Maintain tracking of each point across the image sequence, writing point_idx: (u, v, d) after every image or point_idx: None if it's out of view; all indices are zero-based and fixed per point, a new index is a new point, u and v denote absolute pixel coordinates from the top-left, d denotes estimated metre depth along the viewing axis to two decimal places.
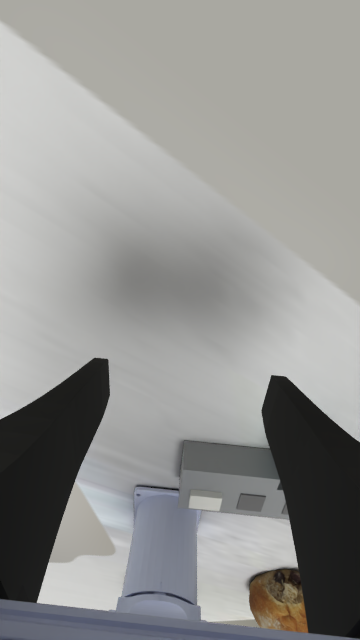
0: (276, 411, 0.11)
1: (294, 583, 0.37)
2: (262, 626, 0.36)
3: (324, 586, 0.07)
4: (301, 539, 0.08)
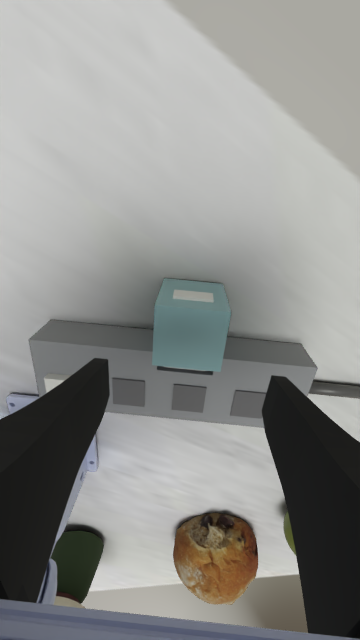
0: (276, 411, 0.11)
1: (222, 527, 0.30)
2: (182, 578, 0.29)
3: (324, 586, 0.07)
4: (301, 539, 0.08)
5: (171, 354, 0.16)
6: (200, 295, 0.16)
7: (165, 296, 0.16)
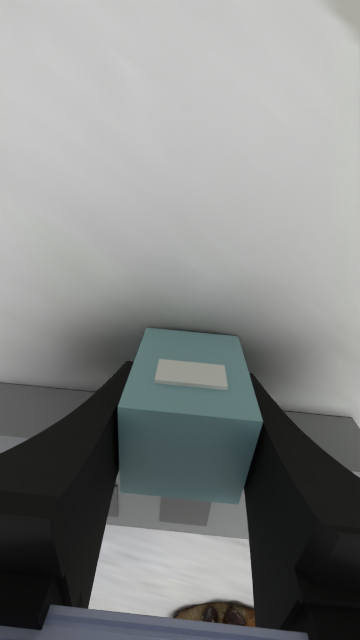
0: None
1: None
2: None
3: (267, 580, 0.07)
4: (253, 534, 0.08)
5: (152, 479, 0.09)
6: (203, 373, 0.09)
7: (140, 377, 0.09)
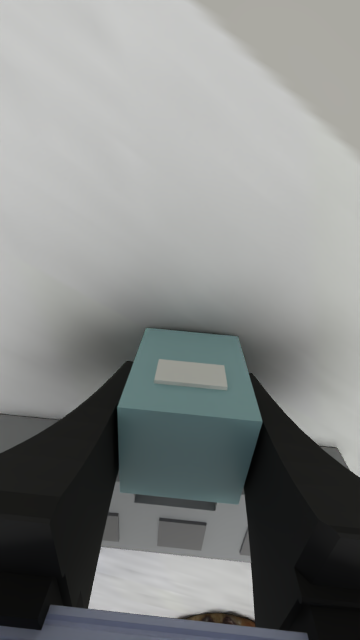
0: None
1: None
2: None
3: (267, 580, 0.07)
4: (253, 534, 0.08)
5: (152, 479, 0.09)
6: (202, 373, 0.09)
7: (141, 377, 0.09)
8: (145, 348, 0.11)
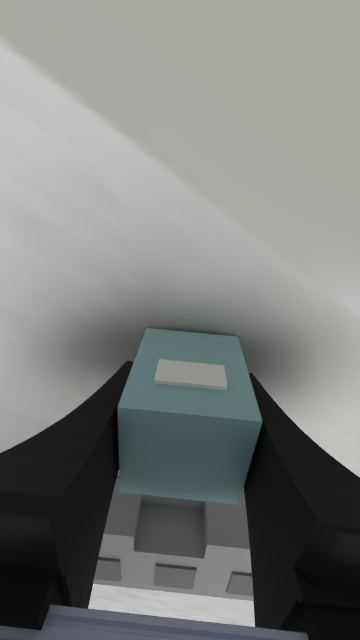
0: None
1: None
2: None
3: (267, 580, 0.07)
4: (253, 534, 0.08)
5: (152, 479, 0.09)
6: (202, 373, 0.09)
7: (141, 377, 0.09)
8: (145, 348, 0.11)
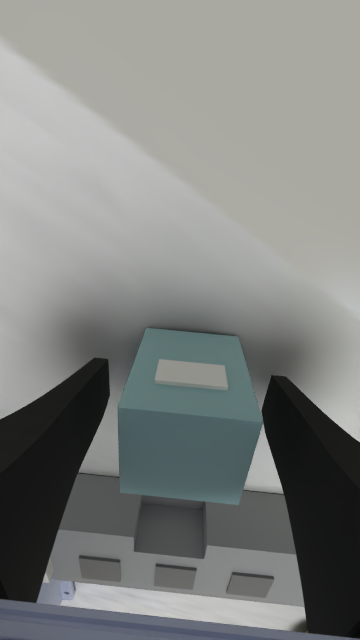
0: (276, 411, 0.11)
1: None
2: None
3: (324, 586, 0.07)
4: (301, 539, 0.08)
5: (152, 479, 0.09)
6: (203, 373, 0.09)
7: (141, 378, 0.09)
8: (145, 348, 0.11)
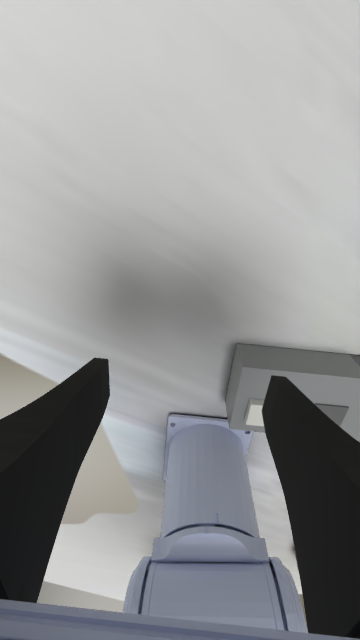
0: (276, 411, 0.11)
1: None
2: None
3: (324, 586, 0.07)
4: (301, 539, 0.08)
5: None
6: None
7: None
8: None
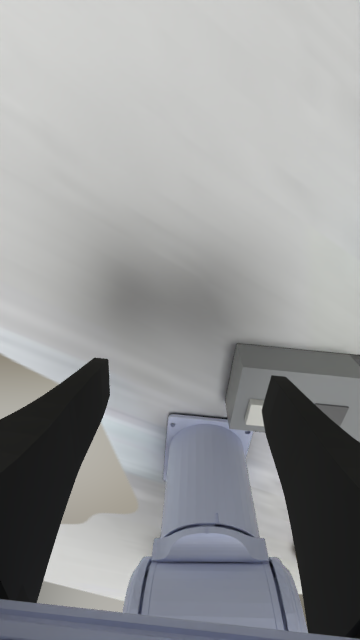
0: (276, 411, 0.11)
1: None
2: None
3: (324, 586, 0.07)
4: (301, 539, 0.08)
5: None
6: None
7: None
8: None
